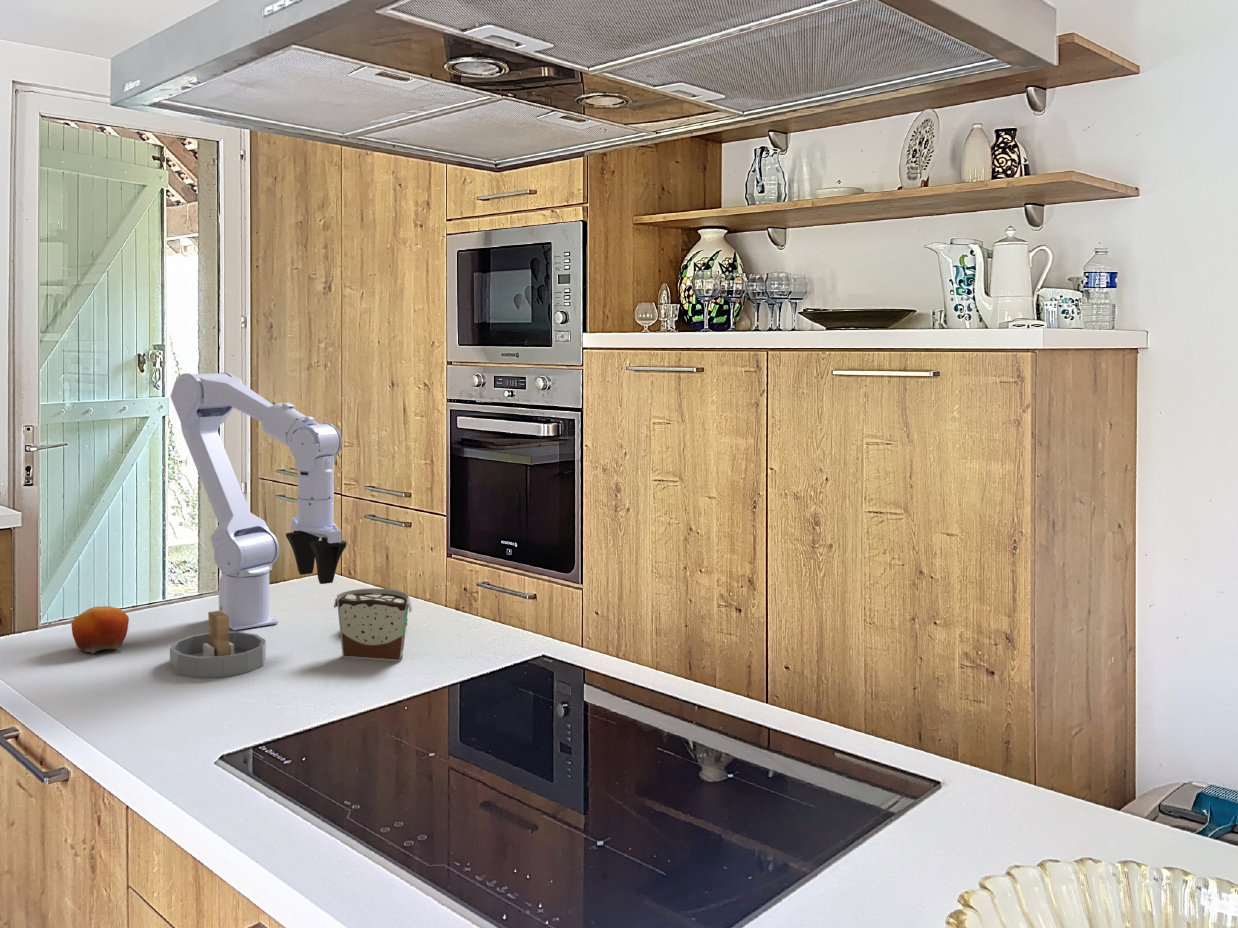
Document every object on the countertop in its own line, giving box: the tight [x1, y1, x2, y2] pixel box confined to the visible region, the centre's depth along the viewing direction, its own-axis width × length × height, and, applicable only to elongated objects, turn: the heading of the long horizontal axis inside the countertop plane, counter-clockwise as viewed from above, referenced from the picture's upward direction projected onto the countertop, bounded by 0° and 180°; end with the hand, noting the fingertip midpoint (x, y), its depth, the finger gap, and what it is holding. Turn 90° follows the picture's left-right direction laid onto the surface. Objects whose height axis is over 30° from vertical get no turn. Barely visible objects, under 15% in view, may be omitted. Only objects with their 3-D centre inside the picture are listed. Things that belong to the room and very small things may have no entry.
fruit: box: [70, 605, 130, 655], centre depth 164 cm, size 8×8×8 cm
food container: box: [333, 588, 413, 662], centre depth 167 cm, size 12×6×10 cm, turn 84°
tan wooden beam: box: [207, 610, 230, 656], centre depth 160 cm, size 4×2×7 cm, turn 41°
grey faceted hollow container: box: [169, 631, 267, 679], centre depth 160 cm, size 13×13×3 cm
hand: (315, 578), depth 174 cm, fingers open, 7 cm apart
